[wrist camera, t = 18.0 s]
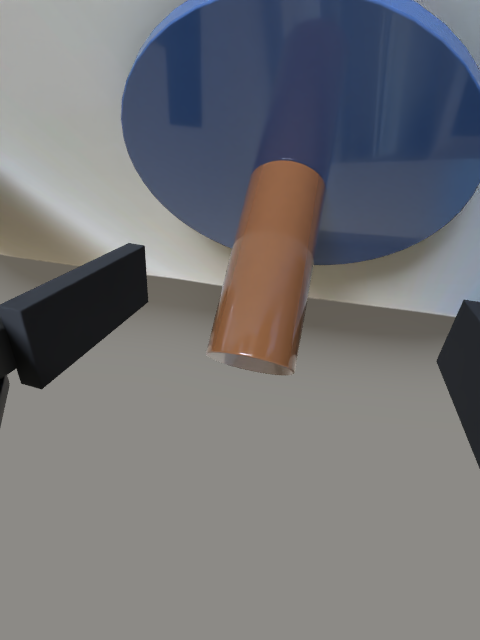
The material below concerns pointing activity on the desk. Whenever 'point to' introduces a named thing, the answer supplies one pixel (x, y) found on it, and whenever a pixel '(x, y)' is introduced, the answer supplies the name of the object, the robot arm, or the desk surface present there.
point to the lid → (301, 145)
